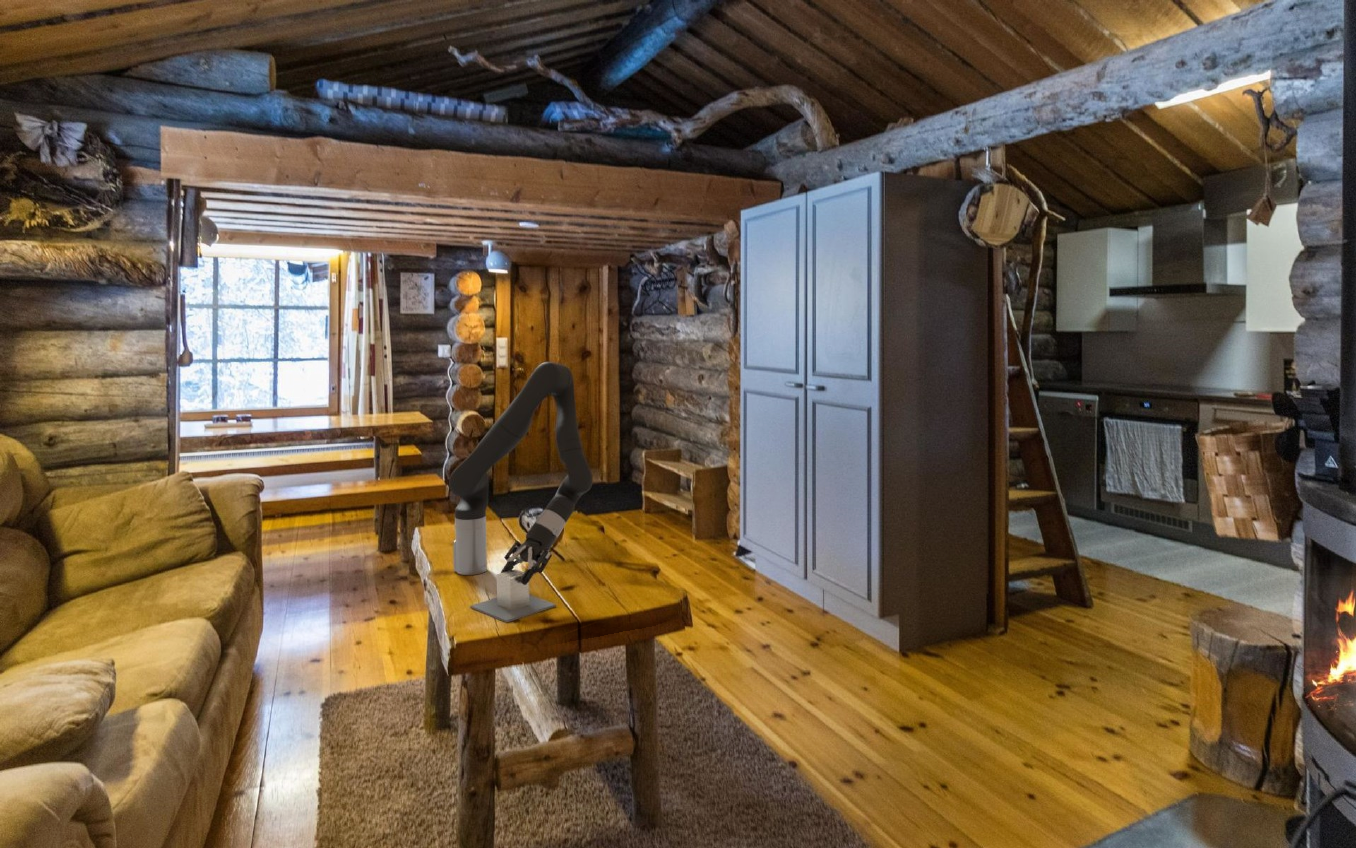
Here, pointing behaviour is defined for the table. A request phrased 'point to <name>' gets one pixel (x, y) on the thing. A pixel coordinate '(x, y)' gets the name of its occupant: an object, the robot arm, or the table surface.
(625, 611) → the table surface
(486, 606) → the mat
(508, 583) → the block
